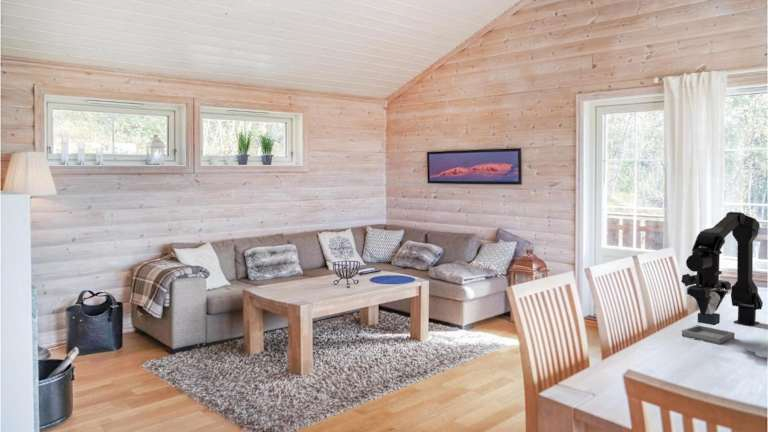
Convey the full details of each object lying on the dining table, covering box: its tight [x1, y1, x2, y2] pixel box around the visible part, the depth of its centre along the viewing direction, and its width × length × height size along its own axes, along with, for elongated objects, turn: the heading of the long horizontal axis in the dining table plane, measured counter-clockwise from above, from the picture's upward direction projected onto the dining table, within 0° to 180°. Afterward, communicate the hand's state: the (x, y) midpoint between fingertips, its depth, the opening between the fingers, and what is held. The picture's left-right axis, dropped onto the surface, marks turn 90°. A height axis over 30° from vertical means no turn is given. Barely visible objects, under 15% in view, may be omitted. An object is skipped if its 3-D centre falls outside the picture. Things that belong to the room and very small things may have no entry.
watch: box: [697, 291, 721, 326], centre depth 207 cm, size 6×8×11 cm
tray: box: [681, 324, 735, 345], centre depth 208 cm, size 11×13×2 cm
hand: (708, 312), depth 208 cm, fingers closed on watch, 8 cm apart
